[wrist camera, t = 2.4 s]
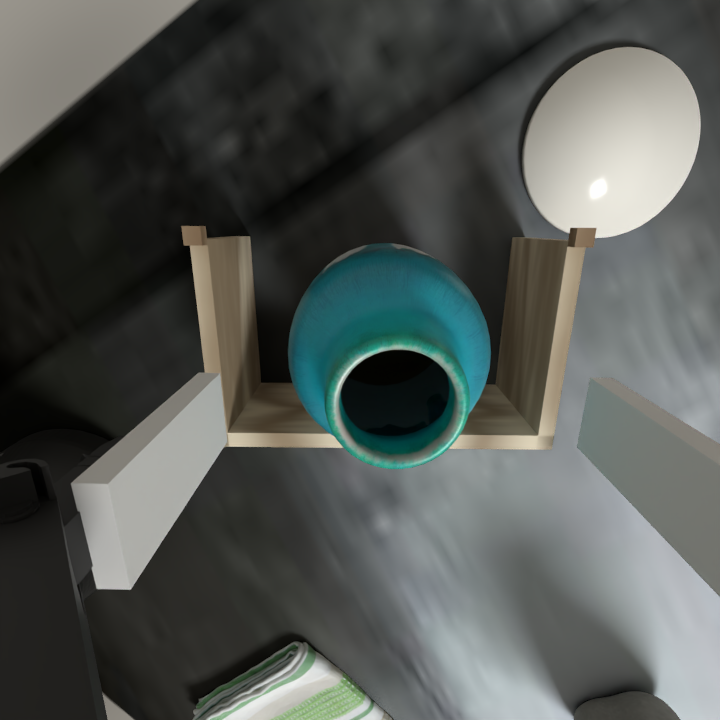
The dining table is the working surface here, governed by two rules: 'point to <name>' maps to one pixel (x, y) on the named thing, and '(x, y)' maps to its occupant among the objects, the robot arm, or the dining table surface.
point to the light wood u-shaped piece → (497, 402)
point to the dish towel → (290, 691)
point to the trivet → (611, 142)
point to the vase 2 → (626, 708)
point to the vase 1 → (389, 354)
